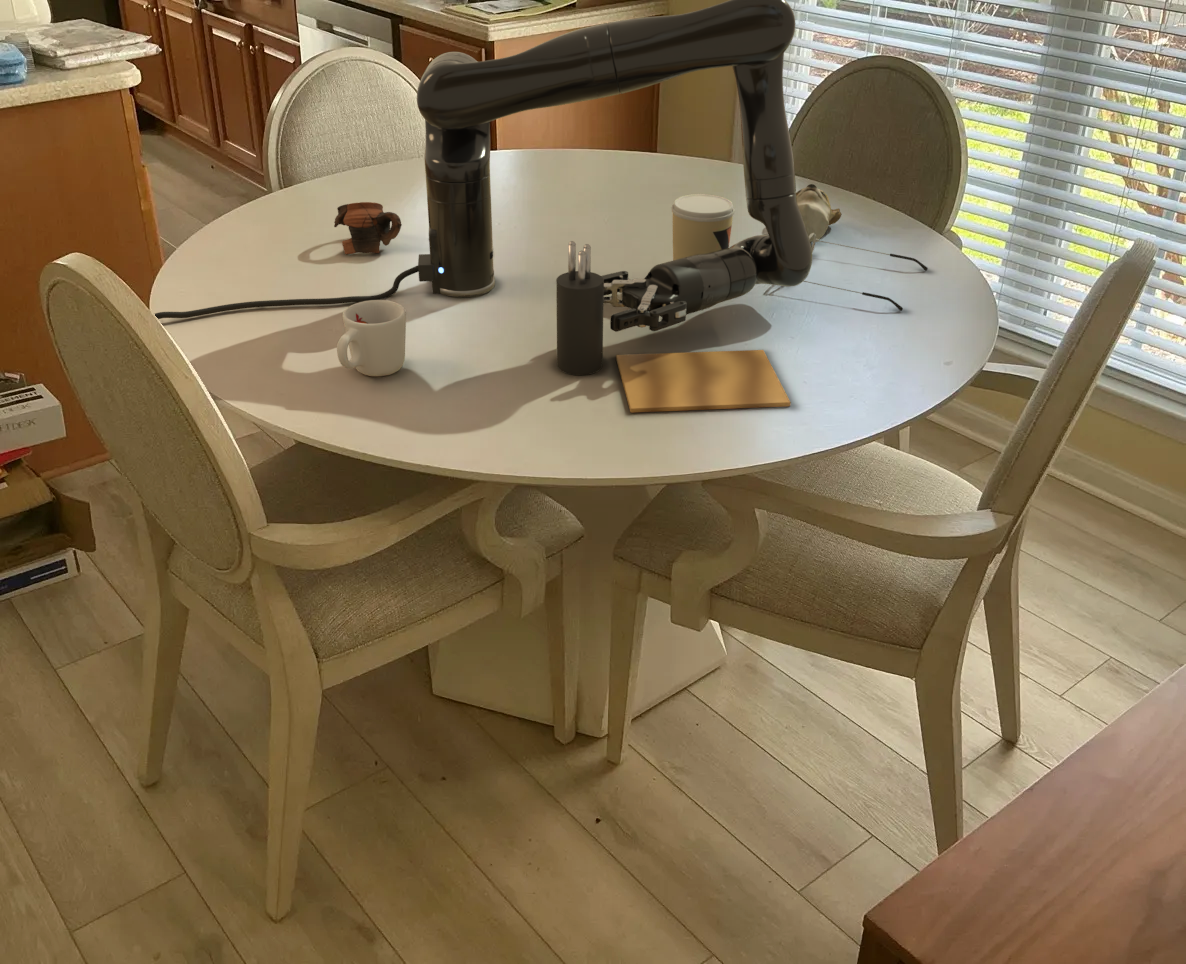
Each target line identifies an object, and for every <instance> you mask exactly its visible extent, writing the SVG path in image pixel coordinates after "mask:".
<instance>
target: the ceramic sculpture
mask: <svg viewBox="0 0 1186 964" xmlns="http://www.w3.org/2000/svg"><path fill="white" fill-rule="evenodd" d="M817 187H818V186H817V185H816V184H813V183H811V184H807V186H806V187H803V188H800V189H799V190H798V191H796V199H797V204H798V207H799V210H800V212H801V215H802V218H803V221H804V224H805V227H806V230H807V233H808V236H810V234H811V233H815V234H816V239H818V240H819V241H820V239H822V238H823V236H824V235H825V234H826V232H827V230H828V228H829V226H831V225H834V224H836V223H837V222H838V221H839V220H840V219H841V217H842V214H843V213H842V211H841V209H840V208H834V209H833V208H832V206H831V203H830V199H829V196H828V194H827V193H826V192H825V191H823V190H822V189H819V188H817ZM810 243H813V236H812V237H811V238H810Z"/></svg>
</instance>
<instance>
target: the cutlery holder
mask: <svg viewBox="0 0 1186 964" xmlns="http://www.w3.org/2000/svg"><path fill="white" fill-rule="evenodd" d="M567 245H568V261H567V262H568V264H567V265H568V267H567V269H568V272H567V271H566V272H563V273H561V274H560V275H558V276H557V277H556V281H555V282H556V284H555V285H556V367H557V369H558V370H559V371H561V372H563V373H565V374H566V375H567V374H568V375H573V376H587V375H593V374H595V373H597V372H599V371H600V370H602V368H603V360H604V359H603V356H604V351H603V350H604V304H605V303H604V297H605V296H604V279H603V277H602V276H603V275H600V274H598V273H596V272H592V271H591V262H592V261H591V257H592V256H591V252H592V251H591V249H592V247H591V244H589V243H585V244H584V245H583V247H582V249H583V250H580V251H578V257H577V254H576V253H577V252H576V251H577V246H576V245H577V244H576V242H575V241H574V240H570V241H569V242H568V244H567ZM577 258H578V259H577ZM576 259H577V261H578V263H577V261H576ZM576 263H577V265H576ZM576 267H577V269H576Z"/></svg>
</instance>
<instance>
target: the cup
mask: <svg viewBox="0 0 1186 964" xmlns="http://www.w3.org/2000/svg"><path fill="white" fill-rule="evenodd" d="M342 322H343V326H344V331H345V332H344V333H343V334H342V335H341V336H340V338H339V339H338V342H337V344H336V354H337V359H338V361H339V364H340V365H341V366H342V367H344V368H346V369H348V370H349V369H356V370H357V371H358V372H359V373H360V374H362V375H365V376H370V377H386V376H389V375H393V374H395V373H396V372H398V371H400V370H401V369H402V367H403V365H404V364H405V359H406V337H407V310H406V308H405V307H404V306H403V305H402V304H400V303H398V302H395V301H392V300H387V299H386V300H385V299H380V300H369V301H363V302H355V303H354V304H351V305H350V306H348V307H347V308H345V309H344V310H343V313H342ZM348 348H349V352H350V359H349V357H348Z"/></svg>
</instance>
